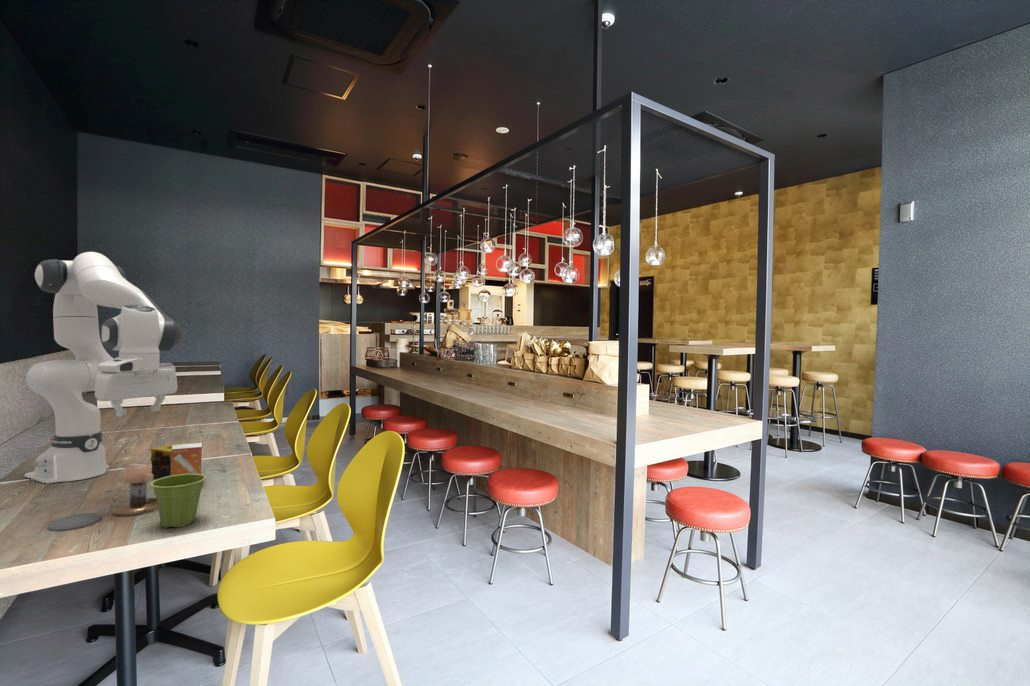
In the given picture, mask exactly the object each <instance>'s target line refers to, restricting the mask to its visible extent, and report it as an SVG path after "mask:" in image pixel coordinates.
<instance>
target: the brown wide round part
mask: <svg viewBox="0 0 1030 686" xmlns="http://www.w3.org/2000/svg"><path fill="white" fill-rule="evenodd" d="M156 509H157V510H158V504H157V499H156V498H155V497H153V498H152V497H149V498H148V497H147V481H146V482H141V483H132V484H129V500H128V501H125V502H122V503H121V502H120V503H119V504H117V505H115V506H113V507H112V508H111V514H112V515H113V516H115V515H116V516H115V517H133V515H134V516H139V515H140V516H141V515H144V513H145V514H149V513H152V512H154V510H155V511H157V510H156ZM151 511H152V512H151ZM148 512H149V513H148Z"/></svg>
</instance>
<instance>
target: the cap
mask: <svg viewBox="0 0 1030 686" xmlns="http://www.w3.org/2000/svg"><path fill="white" fill-rule="evenodd" d="M123 468H124V469H123V471H124V472H123V473H122V476H123V482H124V483H125V484H129V485H130V484H132V483H141V482H146V483H147V482H149V481H151V480H154V479H153V474H152V464H151V462H139V463H130V464H127V465H125V466H124V467H123Z"/></svg>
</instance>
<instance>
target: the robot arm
mask: <svg viewBox="0 0 1030 686" xmlns="http://www.w3.org/2000/svg"><path fill="white" fill-rule="evenodd" d="M34 279H35V281H36V285H37V287H39V288H40V290H42V291H43V292H47V293H52V294H55V295H54V301H53V308H52V314H53V315H52V317H53V318H52V319H53V320H52V321H53V339H54V341H55V342H56V344H58V345H59V346H60V347H63V348H66V349H68V350H70V352H72V353H73V355H74V358H75V359H55V360H53V359H52V360H49V361H44V362H38V363H35V364H33V365H32V366H31V367H30V368H29V369H28V371H27V373H26V376H25V379H26V383H27V386H28V387H29V389H30V390H31V391H33V392H34V393H36V394H38V395H40V396H41V397H43V398H44V399H45V400H46V401H47V402H48V403H49V405H50V406H51V409H52V410H53V414H54V422H55V425H54V426H55V435H52V436H50V437H49V438H51V439H49V440H50V441H51V443H50V447H49V448H48V449H47V450H45V451H44V452H43V453H42V454H40V455H39V456H37V458H35V462H34V470H32V471H29V472H26V473H24V478H26V477H27V478H26V479H29V478H31V479H30V480H32V479H34V480H33V481H35V480H36V481H35V482H38V481H39V483H41V482H42V483H41V484H44V483H46V484H53V483H60V482H61V483H62V482H72V481H80V480H85V479H90V478H91V479H92V478H95V477H98V476H101V475H104V474H105V473H107V470H108V469H109V470H110V465H109V464H107V460H106V459H107V457H106V450H105V449H106V448H105V446H104V445H103V444H102V442H103V432H102V430H101V413H102V412H101V410H100V408H99V407H98V406H97V405H95V404H93V403H91V402H87V401H85V400H84V398H83V395H82V393H85V392H86V393H87V392H94V397H95V399H96V400H97V401H99V402H110V404H111V406H112V407H113V408H114V410H115V417H118V418H120V417H121V418H122V417H126V416H127V412H128V411H127V408H126V409H125V408H123V407H122V404H123V403H124V402H123V401H124V400H129V399H131V400H132V399H138V398H139V399H140V398H147V397H154V399H155V401H154V403H153V404H150V411H151V412H160V411H161V409H162V408H161V407H162V404H163V402H164V400H165V398H166V395H173V394H176V392H177V390H178V378H177V374H176V366H175V365H174V364H173V363H171V362H169V361H166V362H160V353H161V352H169V351H172V349H174V348H175V347H177V345H179V343H180V342H181V340H182V339H181V338H182V330H181V328H180V325H179V324H178V323H177V322H176V321H175V320H174V319H172V318H171V317H169V316H168V315H167V314H166V313H165V312H164V311H163V310H162V308H160V307H159V305H158V304H157V303H156V302H155V301H154V299H153V298H151V296H150V295H148V293H146V291H144V290H142V289H141V288H139V287H137V286H136V285H134V284H132V283H131V282H130V281H128V280H127V277H126V273H125V270H123V269H122V267H120V266H118V265H115V263H113V261H111V260H110V258H108V257H107V256H105V255H104V254H102V253H100V252H96V251H86V252H85V251H84V252H81V253H80V254H78V255H77V256H75V258H73V260H62V259H61V260H59V259H58V258H57V259H56V258H55V259H47V260H45V259H44V260H43V261H41V262H39V263H38V264H37V266H36V268H35V272H34ZM98 306H101V307H107V308H112V309H113V308H114V309H119V310H120V314H118V315H116V316H114V317H110V318H108V319H106V320H105V321H104V322H103V323H102V324H100V327H99V314H98ZM105 347H106V348H107V349H109V350H113V351H119V352H118V357H115V358H114V357H113V356H111V355H110V354H109V353H108V352H107V350H106V349H105Z"/></svg>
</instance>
